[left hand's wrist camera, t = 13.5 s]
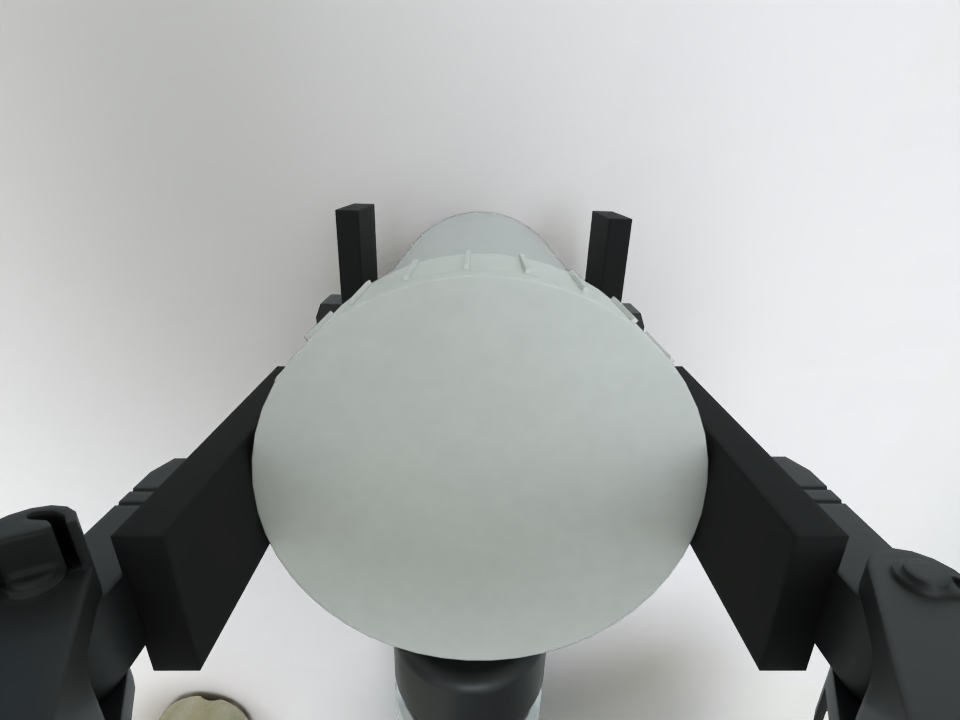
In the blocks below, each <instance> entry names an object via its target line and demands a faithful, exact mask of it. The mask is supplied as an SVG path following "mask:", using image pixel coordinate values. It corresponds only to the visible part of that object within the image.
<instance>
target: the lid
mask: <svg viewBox="0 0 960 720" xmlns="http://www.w3.org/2000/svg"><path fill="white" fill-rule="evenodd" d="M637 322H638V320H637V319H636V318H635V317H634V316H633V315H632V314H631V313H630V312H629V311H628V310H627V309H626V308H625V307H624V306H623V305H622V304H621V303H620V302H619V301H618V300H617V299H616V298H615V297H614V296H613V297H612V298H611V299H610V298H609V297H607V296H606V295H605V294H604V293H602V292H601V291H600V290H599V289H597V288H595V287H594V286H592V285H590V284H589V283H587V282H585V281H584V280H582V279H581V278H580V277H579V276H578V275H577V274H576V273H575V271H573V270H571V269H570V271H569V273H568V272H566V271H563V270H561V269H559V268H556V267H554V266H552V265H549V264H545V263H542V262H538V261H534V260H531V259H527V258H526V257H525V255H524V254H519V257H516V256H509V255H501V254H471V250H466V251H465V254H459V255H451V256H444V257H437V258H433V259H429V260H426V261H422V262H418V259H415V260H413V261H412V262H411V264H410V265H408V266H406V267H404V268H401V269H399V270H396V271H394V272H392V273H389V274H387V275H385V276H383V277H381V278H380V279H378V280H376V281H375V282H373V283H372V282H371V281H370V280H368V281H367V282H365V284H364V285H363V286H362V287H361V288H360V289H359V290H358V291H357V292H356V293H355V294H354V295H353V296H352V297H351V298H350V299H349V300H348V301H346V302H345V303H344V304H343V305H341V306H340V307H339V308H338V309H337V311H336V312H335V313H333V312H332V311H330V312H329V313H328V314H327V315H326V316H325V317H324V318H323V319H322V320H321V321H320V322H319V323H318V324H317V325H316V326H315V327H314V328H313V329H312V330H311V331H310V332H309V333H308V334H307V335H306V336H305V337H304V338H305V339H307V340H308V341H307V342H306V343H305V344H304V345H303V346H302V347H301V348H300V350H299V351H298V352H297V353H296V354H295V355H294V356H293V357H292V358H291V359H290V361H289V362H288V364H287V365H286V367H285V368H284V369H283V370H282V371H281V372H280V374H279V375H278V376H277V377H276V379H275V383H274V385H273V387H272V389H271V391H270V393H269V395H268V397H267V400H266V402H265V404H264V406H263V408H262V411H261V415H260V418H259V422H258V425H257V429H256V432H255V438H254V445H253V453H252V484H253V490H254V495H255V500H256V506H257V511H258V514H259V517H260V520H261V523H262V526H263V529H264V531H265V534H266V536H267V538H268V540H269V542H270V544H271V546H272V548H273V550H274V552H275V554H276V555H277V557H278V558H279V560H280V561H281V563H282V564H283V566H284V567H285V568H286V570H287V571H288V573H289V574H290V576H291V577H292V578H293V579H294V580H295V581H296V582H297V583H298V584H299V586H300V587H301V588H302V589H303V590H304V591H305V592H306V593H307V594H308V595H309V596H310V597H311V598H312V599H314V600H315V601H316V602H317V603H318V604H319V605H320V606H322V607H323V608H324V609H325V610H326V611H328V612H329V613H331V614H332V615H334V616H335V617H337V618H338V619H339V620H341V621H342V622H344V623H345V624H347V625H349V626H350V627H352V628H354V629H356V630H358V631H360V632H362V633H364V634H365V635H367V636H369V637H372V638H374V639H377V640H379V641H382V642H384V643H386V644H389V645H391V646H394V647H398V648H401V649H404V650H408V651H411V652H415V653H419V654H424V655H429V656H434V657H439V658H448V659H458V660H501V659H512V658H520V657H525V656H531V655H536V654H541V653H545V652H549V651H552V650H555V649H559V648H562V647H566V646H568V645H571V644H573V643H576V642H578V641H581V640H583V639H586V638H588V637H591V636H592V635H594V634H596V633H598V632H600V631H602V630H604V629H606V628H608V627H609V626H611V625H613V624H614V623H616V622H617V621H619V620H620V619H622V618H623V617H625V616H626V615H628V614H629V613H631V612H632V611H634V610H635V609H636V608H637V607H638V606H639V605H641V604H642V603H643V602H644V601H645V600H646V599H648V598H649V597H650V596H651V595H652V594H653V593H654V592H655V591H656V590H657V589H658V588H659V586H660V585H661V584H662V583H663V582H664V581H665V580H666V579H667V578H668V577H669V575H670V574H671V572H672V571H673V570H674V568H675V567H676V565H677V564H678V563H679V561H680V560H681V558H682V557H683V555H684V553H685V551H686V549H687V547H688V546H689V544H690V542H691V540H692V538H693V536H694V534H695V531H696V528H697V525H698V523H699V520H700V517H701V514H702V509H703V504H704V499H705V493H706V488H707V481H708V454H707V446H706V437H705V432H704V429H703V425H702V422H701V418H700V415H699V411H698V408H697V406H696V404H695V402H694V400H693V397H692V395H691V393H690V391H689V389H688V387H687V385H686V383H685V381H684V380H683V378H682V377H681V375H680V374H679V372H678V371H677V369H676V368H675V367H674V365H673V364H672V362H674V360H673V358H672V357H671V356H670V355H669V354H668V353H667V352H666V351H665V350H664V349H663V348H662V347H661V346H660V345H659V344H658V343H657V342H656V341H655V340H654V339H653V338H652V337H651V336H650V335H649V333H648V332H644V331H643V330H642V329H641V328H640V327H639V326H638V325H637V324H636V323H637Z"/></svg>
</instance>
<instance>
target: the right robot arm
mask: <svg viewBox="0 0 960 720" xmlns="http://www.w3.org/2000/svg"><path fill="white" fill-rule="evenodd" d="M335 212H336V226H337V240H338V255H339V269H340V283H341V295H330V296H329V297H328V298H327V299H326V300H324V301H323V302H322V303H321V304H320V307H319V310H318V313H317V316H316V320H317V324H318V323H319V322H320V321H321V320H322V319H323V318H324V317H325V316H326V315H327V314H328V313H329V312H330V311H332V312H333V313H335V312H336V311H337V309H338V308H339V307H340V306H341V305H343V304H344V303H345V302H346V301H348V300H349V299H350V298H351V297H352V296H353V295H354V294H355V293H356V292H357V291H358V290H359V289H360V288H361V287H362V286H363V285H364V284H365V282H367V281H368V280H370V281H371V282H372V283H373V282H375V281H376V280H377V257H376V234H375V211H374V204H352V205H349V206H346V207H343V208H340V209H337V210H335ZM631 224H632V219H630V218H628V217H625V216H622V215H620V214H617V213H615V212H609V211H593V212H592V222H591V231H590V241H589V250H588V259H587V269H586V278H585V282H587V283H589V284H590V285H592V286H594V287H595V288H597V289H599V290H600V291H601V292H602V293H604V294H605V295H606V296H607V297H609V298H610V299H611V298H612V297H613V296H614V297H615V298H616V299H617V300H618V301H619V302H620V303H621V299H622V291H623V284H624V276H625V269H626V262H627V254H628V247H629V239H630V232H631ZM621 304H622V305H623V306H624V307H625V308H626V309H627V310H628V311H629V312H630V313H631V314H632V315H633V316H634V317H635V318H636V319H637V320H638V322H637V323H636V324H637V325H638V326H639V327H640V328H641V329H642V330H643V331H644V324H643V320H642V317H641V313H640V312H639V311H638V310H636V309H635V308H634V307H633V306H632V305H631V304H629V303H621ZM394 652H395V675H396V699H397V717H398V720H539V713H540V704H541V696H542V681H543V674H544V664H545V655H546V652H545V653H541V654H536V655H531V656H525V657H520V658H512V659H501V660H458V659H448V658H439V657H434V656H429V655H424V654H419V653H415V652H411V651H408V650H404V649H401V648H398V647H394Z"/></svg>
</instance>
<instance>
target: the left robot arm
mask: <svg viewBox="0 0 960 720" xmlns="http://www.w3.org/2000/svg"><path fill="white" fill-rule="evenodd" d="M285 367H286V366H277V367H276V368H275V369H274V370H273V371H272V372H271V374H270V375H269V376H268V377H267V378H266V379H265V380H264V381H263V382H262V383H261V384H260V385H259V386H258V387H257V388H256V389H255V390H254V391H253V392H252V393H251V394H250V395H249V396H248V397H247V398H246V399H245V400H244V401H243V402H242V403H241V404H240V405H239V406H238V407H237V408H236V409H235V410H234V411H233V412H232V413H231V414H230V415H229V416H228V417H227V418H226V419H225V420H224V421H223V422H222V423H221V424H220V425H219V426H218V427H217V428H216V429H215V430H214V431H213V432H212V433H211V434H210V436H209V437H208V438H207V439H206V440H205V441H204V442H203V443H202V444H201V445H200V446H199V447H198V448H197V449H196V450H195V451H194V452H193V453H192V454H191V455H190V456H189V457H188V458H175V459H173V460H171V461H169V462H168V463H166V464H164V465H162V466H161V467H159V468H157V469H155V470H154V471H152V472H150V473H149V474H148V475H147V476H146V477H145V478H144V479H143V480H142V481H141V482H140V483H138V484H137V485H136V486H135V487H134V488H133V492H129V493H128V494H127V495H126V496H125V497H124V498H123V499H122V500H121V501H119V505H118V506H114V507H113V508H112V509H111V510H110V511H109V512H108V513H107V514H106V515H105V516H104V517H103V518H101V519H100V520H99V521H98V522H97V523H96V524H95V525H94V526H93V527H92V528H91V529H90V530H89V531H88V532H87V533H86V534H85V535H84V534H83V531H82V528H81V525H80V523H79V520H78V517H77V514H76V512H75V511H74V510H72V509H70V508H69V507H67V506H54V505H50V506H43V507H37V508H31V509H27V510H24V511H21V512H17V513H14V514H11V515H8V516H6V517H4V518H1V519H0V720H131V718H132V710H133V701H134V693H135V685H134V679H133V675H132V672H131V669H130V667H131V665H132V664H133V662H134V661H135V659H136V658H137V656H138V655H139V654H140V652H141V651H142V649H143V648H144V646H145V645H146V648H147V651H148V654H149V657H150V660H151V663H152V667H153V670H154V671H200V670H201V668H202V666H203V664H204V662H205V661H206V659H207V657H208V655H209V653H210V652H211V650H212V648H213V646H214V644H215V642H216V641H217V639H218V637H219V635H220V633H221V631H222V630H223V628H224V626H225V624H226V622H227V621H228V619H229V617H230V615H231V613H232V611H233V610H234V608H235V606H236V604H237V602H238V600H239V599H240V597H241V595H242V593H243V591H244V590H245V588H246V586H247V584H248V582H249V580H250V579H251V577H252V575H253V573H254V571H255V569H256V568H257V566H258V564H259V562H260V560H261V559H262V557H263V555H264V553H265V551H266V549H267V548H268V546H269V544H270V542H269V540H268V538H267V536H266V534H265V531H264V529H263V526H262V523H261V520H260V517H259V514H258V511H257V506H256V500H255V495H254V490H253V484H252V453H253V445H254V438H255V432H256V429H257V425H258V422H259V418H260V415H261V411H262V408H263V406H264V404H265V402H266V400H267V397H268V395H269V393H270V391H271V389H272V387H273V385H274V383H275V379H276V377H277V376H278V375H279V374H280V372H281V371H282V370H283V369H284V368H285ZM674 367H675V368H676V369H677V371H678V372H679V374H680V375H681V377H682V378H683V380H684V381H685V383H686V385H687V387H688V389H689V391H690V393H691V395H692V397H693V400H694V402H695V404H696V406H697V408H698V411H699V415H700V418H701V422H702V425H703V429H704V432H705V437H706V446H707V454H708V481H707V488H706V493H705V499H704V504H703V509H702V514H701V517H700V520H699V523H698V525H697V528H696V531H695V534H694V536H693V538H692V540H691V542H690V545H691V546H692V548H693V550H694V552H695V554H696V555H697V557H698V559H699V561H700V563H701V565H702V566H703V568H704V570H705V572H706V574H707V576H708V577H709V579H710V581H711V583H712V585H713V586H714V588H715V590H716V592H717V594H718V596H719V597H720V599H721V601H722V603H723V605H724V607H725V608H726V610H727V612H728V614H729V616H730V617H731V619H732V621H733V623H734V625H735V627H736V628H737V630H738V632H739V634H740V636H741V638H742V639H743V641H744V643H745V645H746V647H747V648H748V650H749V652H750V654H751V656H752V658H753V659H754V661H755V663H756V665H757V667H758V669H759V670H760V671H806V668H807V665H808V662H809V659H810V656H811V653H812V650H813V647H814V644H816V645H817V647H818V648H819V650H820V651H821V653H822V654H823V656H824V657H825V658H826V660H827V661H828V663H829V664H830V669H829V672H828V675H827V678H826V681H825V684H824V686H823V689H822V692H821V695H820V698H819V701H818V704H817V707H816V710H815V715H814V720H823V719H824V716H825V713H826V711H828V716H829V720H960V574H959V573H958V572H957V571H955V570H954V569H952V568H950V567H948V566H946V565H944V564H942V563H940V562H938V561H937V560H935V559H932V558H929V557H927V556H924V555H921V554H918V553H915V552H912V551H906V550H900V549H894V548H892V547H891V546H890V545H889V544H887V543H886V542H885V541H884V540H883V539H882V538H881V537H880V536H879V535H878V534H877V533H876V532H875V531H874V530H873V529H872V528H870V527H869V526H868V525H867V524H866V523H865V522H864V521H863V520H862V519H861V518H860V517H859V516H858V515H857V514H856V513H854V512H853V511H852V510H851V509H850V508H849V507H848V506H847V505H846V504H842V503H841V499H840V498H838V497H837V496H836V495H835V494H834V493H833V492H832V491H831V490H827V486H826V485H825V484H824V483H823V482H821V481H820V480H819V479H818V478H817V477H816V476H815V475H814V474H813V473H812V472H811V471H810V470H808V469H806V468H804V467H803V466H801V465H799V464H797V463H796V462H794V461H792V460H790V459H788V458H787V457H771V456H770V455H769V454H768V453H767V452H766V451H765V450H764V449H763V448H762V447H761V446H760V445H759V444H758V443H757V442H756V441H755V440H754V439H753V438H752V437H751V436H750V435H749V434H748V433H747V432H746V431H745V430H744V429H743V428H742V427H741V426H740V425H739V424H738V423H737V422H736V421H735V420H734V419H733V418H732V417H731V416H730V415H729V413H728V412H727V411H726V410H725V409H724V408H723V407H722V406H721V405H720V404H719V403H718V402H717V401H716V400H715V399H714V398H713V397H712V396H711V395H710V394H709V393H708V392H707V391H706V390H705V389H704V388H703V387H702V386H701V385H700V384H699V383H698V382H697V381H696V380H695V379H694V378H693V377H692V376H691V375H690V374H689V373H688V372H687V371H686V370H685V369H684V368H683V367H682V366H674Z"/></svg>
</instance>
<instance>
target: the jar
mask: <svg viewBox="0 0 960 720" xmlns="http://www.w3.org/2000/svg"><path fill="white" fill-rule="evenodd" d="M466 250H471V254H501V255H509V256H516V257H519V254H524V255H525V257H526V258H527V259H531V260H534V261H538V262H542V263H545V264H549V265H552V266H554V267H556V268H559V269H561V270H563V271H566V272H568V271H567V270H566V269H565V267H564V266H563V265H562V264H561V262H560V261H559V260H558V258H557V257H556V256H555V255H554V253H553V252H552V251H551V250H550V248H549V247H548V246H547V245H546V243H545V242H544V241H543V240H542V239H541V238H540V237H539V236H538V235H537V234H536V233H535V232H534V231H532V230H531V229H530V228H529V227H527V226H526V225H524V224H522V223H521V222H519V221H517V220H514V219H512V218H510V217H507V216H504V215H500V214H496V213H488V212H471V213H464V214H460V215H456V216H453V217H450V218H448V219H445V220H443V221H441V222H439V223H438V224H436V225H434V226H433V227H431V228H430V229H429V230H427V231H426V232H425V233H424V234H423V235H422V236H421V237H420V238H419V239H418V240H417V241H416V242H415V243H414V244H413V246H412V247H411V248H410V249H409V251H408V252H407V253H406V255H405V256H404V257H403V258H402V260H401V261H400V262H399V263H398V265H397V266H396V267H395V268H394V270H393V271H392V272H394V271H396V270H399V269H401V268H404V267H406V266H408V265H410V264H411V262H412V261H413V260H415V259H418V262H422V261H426V260H429V259H433V258H437V257H444V256H451V255H459V254H465V251H466ZM392 272H391V273H392ZM568 273H569V272H568Z"/></svg>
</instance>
